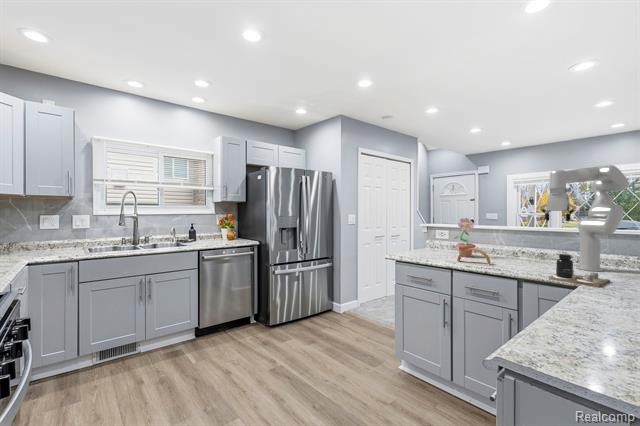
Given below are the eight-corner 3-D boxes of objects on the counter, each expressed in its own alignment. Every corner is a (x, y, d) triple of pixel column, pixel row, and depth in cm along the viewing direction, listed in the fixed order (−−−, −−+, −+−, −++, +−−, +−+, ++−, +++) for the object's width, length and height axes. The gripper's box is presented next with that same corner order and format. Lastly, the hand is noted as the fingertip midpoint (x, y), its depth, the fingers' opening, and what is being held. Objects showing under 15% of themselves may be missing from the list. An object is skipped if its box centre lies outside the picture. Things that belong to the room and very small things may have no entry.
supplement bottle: (566, 279, 155) (566, 255, 154) (552, 276, 161) (553, 253, 161) (576, 278, 156) (576, 255, 156) (562, 275, 163) (562, 253, 163)
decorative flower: (455, 257, 231) (455, 218, 231) (453, 254, 244) (453, 217, 244) (477, 258, 227) (477, 218, 226) (473, 255, 240) (473, 217, 239)
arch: (489, 265, 199) (489, 250, 199) (456, 262, 211) (457, 247, 211) (490, 264, 204) (490, 249, 203) (458, 260, 216) (459, 247, 216)
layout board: (562, 274, 171) (562, 267, 171) (610, 281, 154) (610, 273, 154) (548, 279, 160) (549, 271, 160) (598, 287, 144) (599, 278, 144)
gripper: (578, 191, 171) (578, 221, 171) (543, 192, 185) (542, 220, 185) (574, 190, 167) (573, 221, 167) (538, 192, 181) (537, 220, 181)
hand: (557, 220), depth 176 cm, fingers open, 9 cm apart
